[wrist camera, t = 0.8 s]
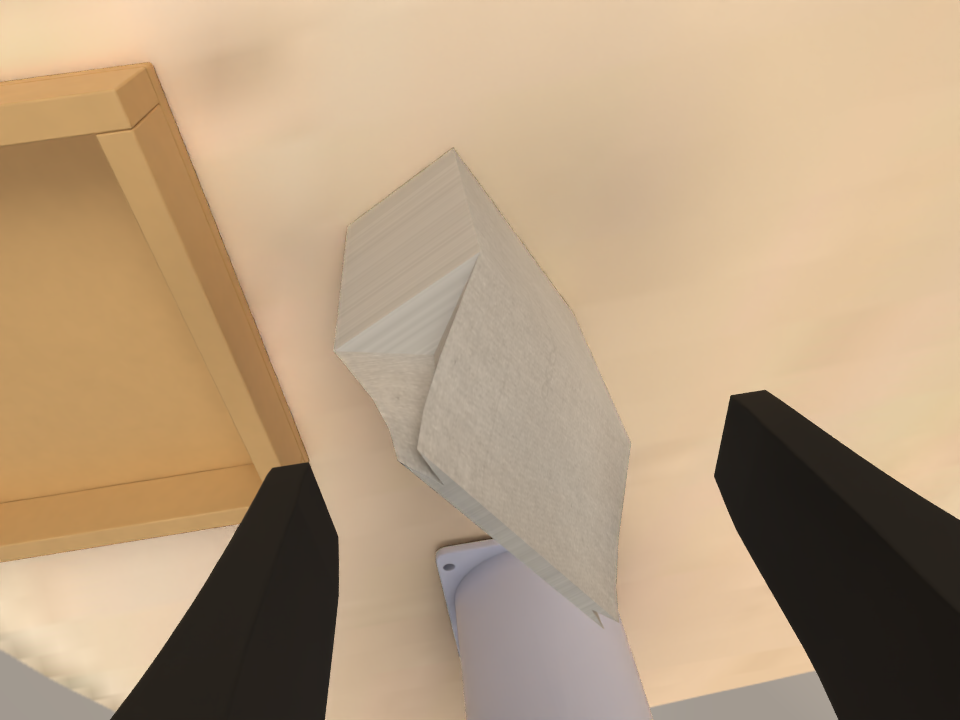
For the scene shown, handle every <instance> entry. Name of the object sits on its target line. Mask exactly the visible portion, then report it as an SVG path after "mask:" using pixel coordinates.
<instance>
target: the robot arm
mask: <svg viewBox="0 0 960 720" xmlns="http://www.w3.org/2000/svg"><path fill="white" fill-rule="evenodd" d="M714 477H715V480H716V482H717V485H718V487H719V490H720V492H721V495H722V497H723V500H724V502H725V505H726V507H727V509H728V512H729V514H730V516H731V519H732V521H733V523H734V526H735V528H736V530H737V532H738V534H739V536H740V537H741V539H742V541H743V543H744V545H745V546H746V548H747V550H748V552H749V553H750V555H751V557H752V559H753V561H754V562H755V564H756V566H757V568H758V569H759V571H760V573H761V575H762V576H763V578H764V580H765V582H766V583H767V585H768V587H769V589H770V590H771V592H772V594H773V595H774V597H775V599H776V601H777V602H778V604H779V606H780V608H781V609H782V611H783V613H784V615H785V616H786V618H787V620H788V622H789V623H790V625H791V627H792V629H793V630H794V632H795V634H796V635H797V637H798V639H799V641H800V642H801V644H802V646H803V648H804V649H805V651H806V653H807V655H808V657H809V659H810V661H811V663H812V665H813V667H814V668H815V670H816V672H817V674H818V676H819V678H820V680H821V682H822V685H823V687H824V689H825V691H826V693H827V696H828V698H829V700H830V702H831V704H832V706H833V709H834V711H835V713H836V715H837V717H838V720H960V520H959V519H957V518H955V517H954V516H952V515H951V514H949V513H947V512H946V511H944V510H942V509H941V508H939V507H937V506H936V505H934V504H933V503H931V502H929V501H928V500H926V499H924V498H923V497H921V496H920V495H918V494H917V493H915V492H913V491H912V490H910V489H909V488H907V487H906V486H904V485H903V484H901V483H899V482H898V481H896V480H895V479H893V478H892V477H890V476H889V475H887V474H886V473H884V472H883V471H881V470H880V469H878V468H877V467H875V466H874V465H872V464H871V463H869V462H868V461H867V460H865V459H864V458H862V457H861V456H859V455H858V454H856V453H855V452H853V451H852V450H851V449H849V448H848V447H846V446H845V445H843V444H842V443H840V442H839V441H838V440H836V439H835V438H833V437H832V436H831V435H829V434H828V433H826V432H825V431H823V430H822V429H821V428H819V427H818V426H816V425H815V424H814V423H812V422H811V421H809V420H808V419H807V418H805V417H804V416H802V415H801V414H800V413H798V412H797V411H795V410H794V409H792V408H791V407H790V406H788V405H787V404H785V403H784V402H782V401H781V400H780V399H778V398H777V397H775V396H774V395H772V394H771V393H769V392H768V391H766V390H762V391H756V392H749V393H743V394H737V395H731V396H730V401H729V406H728V411H727V415H726V420H725V425H724V430H723V435H722V440H721V445H720V449H719V454H718V459H717V464H716V469H715V474H714ZM435 557H436V564H437V568H438V572H439V576H440V580H441V584H442V589H443V593H444V597H445V601H446V605H447V609H448V613H449V617H450V621H451V625H452V629H453V633H454V637H455V641H456V645H457V650H458V654H459V657H460V661H461V671H462V681H463V692H464V702H465V712H466V720H653V717H652V714H651V710H650V707H649V704H648V701H647V698H646V695H645V692H644V689H643V686H642V682H641V679H640V676H639V673H638V670H637V667H636V664H635V661H634V658H633V655H632V652H631V648H630V645H629V642H628V639H627V636H626V633H625V630H624V627H623V624H622V621H621V618H620V614H619V611H618V614H619V623H618V622H616V621H614V620H612V619H610V618H608V617H606V616H604V615H602V614H600V613H598V612H597V613H598V615H599V618H600V620H601V623H602V625H603V627H604V629H603V628H602V627H600V626H599V625H598V624H597V623H596V622H594V621H593V620H592V619H591V618H590V617H588V616H587V615H586V614H585V613H583V612H582V611H581V610H580V609H579V608H577V607H576V606H575V605H574V604H572V603H571V602H570V601H569V600H568V599H566V598H565V597H564V596H563V595H561V594H560V593H559V592H558V591H557V590H555V589H554V588H553V587H552V586H550V585H549V584H548V583H547V582H546V581H544V580H543V579H542V578H541V577H539V576H538V575H537V574H536V573H535V572H533V571H532V570H531V569H530V568H528V567H527V566H526V565H525V564H524V563H522V562H521V561H520V560H519V559H517V558H516V557H515V556H514V555H513V554H511V553H510V552H509V551H508V550H506V549H505V548H504V547H503V546H502V545H500V544H499V543H498V542H497V541H495V540H494V539H489V540H483V541H477V542H471V543H465V544H459V545H452V546H446V547H442V548H440V549H439V550H437V552H436V555H435ZM338 597H339V544H338V535H337V532H336V530H335V527H334V525H333V522H332V520H331V517H330V515H329V512H328V509H327V507H326V504H325V502H324V499H323V497H322V494H321V492H320V489H319V487H318V484H317V482H316V479H315V477H314V474H313V472H312V469H311V466H310V464H309V462H306V463H299V464H293V465H287V466H280V467H274V468H272V469H271V470H270V471H269V472H268V474H267V475H266V477H265V479H264V481H263V483H262V485H261V487H260V488H259V490H258V492H257V494H256V496H255V498H254V500H253V501H252V503H251V505H250V507H249V509H248V510H247V512H246V514H245V516H244V518H243V519H242V521H241V523H240V525H239V527H238V528H237V530H236V532H235V534H234V535H233V537H232V539H231V541H230V542H229V544H228V546H227V548H226V549H225V551H224V553H223V554H222V556H221V558H220V559H219V561H218V562H217V564H216V566H215V567H214V569H213V571H212V572H211V574H210V576H209V577H208V579H207V581H206V582H205V584H204V586H203V587H202V589H201V591H200V592H199V594H198V595H197V597H196V599H195V600H194V602H193V603H192V605H191V606H190V608H189V609H188V611H187V612H186V614H185V615H184V617H183V618H182V620H181V621H180V623H179V624H178V626H177V627H176V629H175V630H174V632H173V633H172V635H171V636H170V638H169V639H168V641H167V642H166V644H165V645H164V647H163V648H162V650H161V651H160V653H159V654H158V655H157V657H156V658H155V660H154V661H153V663H152V664H151V665H150V667H149V668H148V670H147V671H146V672H145V674H144V675H143V677H142V678H141V679H140V681H139V682H138V683H137V685H136V686H135V687H134V689H133V690H132V692H131V693H130V694H129V695H128V697H127V698H126V699H125V701H124V702H123V703H122V705H121V706H120V707H119V709H118V710H117V711H116V713H115V714H114V715H113V716H112V718H111V719H110V720H325V713H326V705H327V696H328V687H329V679H330V670H331V661H332V652H333V644H334V634H335V625H336V616H337V607H338Z"/></svg>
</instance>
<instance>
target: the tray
mask: <svg viewBox="0 0 960 720" xmlns="http://www.w3.org/2000/svg"><path fill="white" fill-rule="evenodd" d="M306 462H309V459H308V456H307V454H306V451H305V448H304V446H303V443H302V441H301V438H300V436H299V433H298V431H297V428H296V426H295V423H294V421H293V418H292V416H291V413H290V411H289V408H288V406H287V403H286V401H285V398H284V396H283V393H282V390H281V388H280V385H279V383H278V380H277V378H276V375H275V373H274V370H273V368H272V365H271V363H270V360H269V358H268V355H267V353H266V350H265V348H264V345H263V343H262V340H261V338H260V335H259V332H258V330H257V327H256V325H255V322H254V320H253V317H252V315H251V312H250V310H249V307H248V305H247V302H246V300H245V297H244V295H243V292H242V290H241V287H240V285H239V282H238V280H237V277H236V274H235V272H234V269H233V267H232V264H231V262H230V259H229V257H228V254H227V252H226V249H225V247H224V244H223V242H222V239H221V237H220V234H219V232H218V229H217V227H216V224H215V222H214V219H213V216H212V214H211V211H210V209H209V206H208V204H207V201H206V199H205V196H204V194H203V191H202V189H201V186H200V184H199V181H198V179H197V176H196V174H195V171H194V169H193V166H192V164H191V161H190V158H189V156H188V153H187V151H186V148H185V146H184V143H183V141H182V138H181V136H180V133H179V131H178V128H177V126H176V123H175V121H174V118H173V116H172V113H171V111H170V108H169V105H168V103H167V100H166V98H165V95H164V93H163V90H162V88H161V85H160V83H159V80H158V78H157V75H156V73H155V70H154V68H153V65H152V64H151V63H149V62H147V63H139V64H132V65H124V66H117V67H109V68H102V69H94V70H87V71H80V72H72V73H65V74H57V75H50V76H42V77H35V78H27V79H20V80H12V81H5V82H0V562H7V561H13V560H19V559H25V558H31V557H38V556H44V555H50V554H56V553H62V552H69V551H75V550H81V549H87V548H93V547H100V546H106V545H112V544H118V543H124V542H131V541H137V540H143V539H149V538H155V537H161V536H168V535H174V534H180V533H186V532H192V531H199V530H205V529H211V528H217V527H223V526H230V525H236V524H240V523H241V521H242V519H243V518H244V516H245V514H246V512H247V510H248V509H249V507H250V505H251V503H252V501H253V500H254V498H255V496H256V494H257V492H258V490H259V488H260V487H261V485H262V483H263V481H264V479H265V477H266V475H267V474H268V472H269V471H270V470H271V469H272V468H274V467H280V466H287V465H293V464H299V463H306Z"/></svg>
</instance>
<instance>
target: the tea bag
mask: <svg viewBox="0 0 960 720" xmlns="http://www.w3.org/2000/svg"><path fill="white" fill-rule="evenodd" d="M334 352H335V354H336V355H337V356H338V357H339V359H340V360H341V361H342V362H343V363H344V365H345V366H346V367H347V368H348V370H349V371H350V372H351V373H352V374H353V376H354V377H355V378H356V379H357V381H358V382H359V383H360V384H361V386H362V387H363V388H364V389H365V390H366V392H367V393H368V394H369V395H370V397H371V398H372V399H373V401H374V403H375V405H376V407H377V408H378V410H379V412H380V414H381V416H382V417H383V419H384V421H385V423H386V425H387V427H388V428H389V430H390V434H391V438H392V441H393V445H394V449H395V452H396V456H397V460H398V461H399V462H400V463H401V464H403V465H404V466H405V467H406V468H408V469H409V470H410V471H411V472H412V473H414V474H415V475H416V476H417V477H419V478H420V479H421V480H422V481H423V482H425V483H426V484H427V485H428V486H430V487H431V488H432V489H433V490H434V491H436V492H437V493H438V494H439V495H441V496H442V497H443V498H444V499H445V500H447V501H448V502H449V503H450V504H452V505H453V506H454V507H455V508H456V509H458V510H459V511H460V512H461V513H462V514H464V515H465V516H466V517H467V518H469V519H470V520H471V521H472V522H473V523H475V524H476V525H477V526H478V527H480V528H481V529H482V530H483V531H484V532H486V533H487V534H488V535H489V536H491V537H492V538H493V539H494V540H495V541H497V542H498V543H499V544H500V545H502V546H503V547H504V548H505V549H506V550H508V551H509V552H510V553H511V554H513V555H514V556H515V557H516V558H517V559H519V560H520V561H521V562H522V563H524V564H525V565H526V566H527V567H528V568H530V569H531V570H532V571H533V572H535V573H536V574H537V575H538V576H539V577H541V578H542V579H543V580H544V581H546V582H547V583H548V584H549V585H550V586H552V587H553V588H554V589H555V590H557V591H558V592H559V593H560V594H561V595H563V596H564V597H565V598H566V599H568V600H569V601H570V602H571V603H572V604H574V605H575V606H576V607H577V608H579V609H580V610H581V611H582V612H583V613H585V614H586V615H587V616H588V617H590V618H591V619H592V620H593V621H594V622H596V623H597V624H598V625H599V626H600V627H602V628H603V629H604V627H603V625H602V623H601V620H600V618H599V615H598V613H600V614H602V615H604V616H606V617H608V618H610V619H612V620H614V621H616V622H618V623H619V614H618V603H617V593H616V578H617V559H618V540H619V532H620V524H621V516H622V509H623V501H624V493H625V486H626V478H627V470H628V463H629V455H630V447H631V441H630V439H629V437H628V435H627V432H626V430H625V428H624V426H623V423H622V421H621V419H620V417H619V414H618V412H617V410H616V408H615V405H614V403H613V401H612V399H611V396H610V394H609V392H608V390H607V387H606V385H605V383H604V381H603V378H602V376H601V374H600V371H599V369H598V367H597V365H596V362H595V360H594V358H593V356H592V353H591V351H590V349H589V347H588V344H587V342H586V340H585V338H584V335H583V333H582V331H581V329H580V326H579V324H578V322H577V320H576V317H575V315H574V313H573V312H572V311H571V309H570V308H569V306H568V305H567V304H566V302H565V301H564V300H563V298H562V297H561V295H560V294H559V293H558V291H557V290H556V289H555V287H554V286H553V284H552V283H551V282H550V280H549V279H548V278H547V276H546V275H545V273H544V272H543V271H542V269H541V268H540V267H539V265H538V264H537V262H536V261H535V260H534V258H533V257H532V256H531V254H530V253H529V251H528V250H527V249H526V247H525V246H524V245H523V243H522V242H521V240H520V239H519V238H518V236H517V235H516V234H515V232H514V231H513V229H512V228H511V227H510V225H509V224H508V223H507V221H506V220H505V218H504V217H503V216H502V214H501V213H500V211H499V210H498V209H497V207H496V206H495V205H494V203H493V202H492V200H491V199H490V198H489V196H488V195H487V194H486V192H485V191H484V189H483V188H482V187H481V185H480V184H479V183H478V181H477V180H476V178H475V177H474V176H473V174H472V173H471V172H470V170H469V169H468V167H467V166H466V165H465V163H464V162H463V161H462V159H461V158H460V156H459V155H458V154H457V152H456V151H455V150H454V148H452V149H451V150H449V151H448V152H447V153H445V154H444V155H443V156H441V157H440V158H439V159H437V160H436V161H435V162H433V163H432V164H431V165H429V166H428V167H426V168H425V169H424V170H422V171H421V172H420V173H418V174H417V175H416V176H414V177H413V178H412V179H410V180H409V181H408V182H406V183H405V184H404V185H402V186H401V187H400V188H398V189H397V190H396V191H394V192H393V193H392V194H390V195H389V196H388V197H386V198H385V199H383V200H382V201H381V202H379V203H378V204H377V205H375V206H374V207H373V208H371V209H370V210H369V211H367V212H366V213H365V214H363V215H362V216H361V217H359V218H358V219H357V220H355V221H354V222H353V223H351V224H350V225H349V226H347V235H346V244H345V253H344V262H343V270H342V279H341V288H340V297H339V306H338V315H337V324H336V333H335V342H334ZM597 612H598V613H597Z"/></svg>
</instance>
